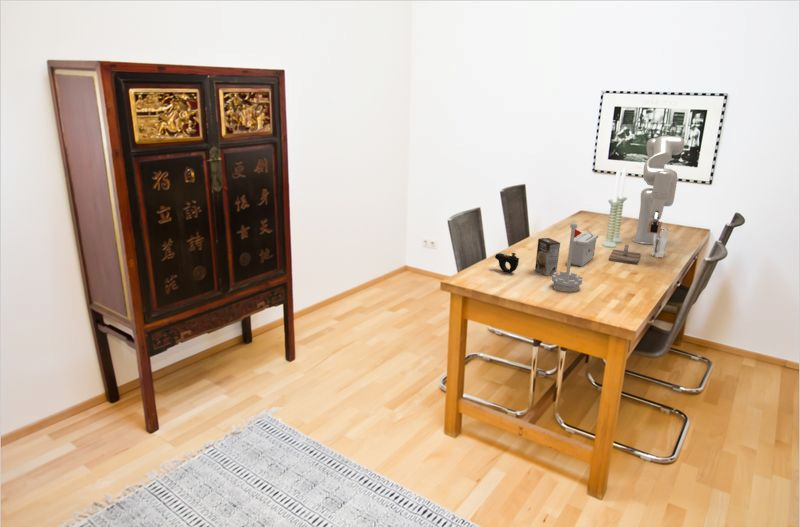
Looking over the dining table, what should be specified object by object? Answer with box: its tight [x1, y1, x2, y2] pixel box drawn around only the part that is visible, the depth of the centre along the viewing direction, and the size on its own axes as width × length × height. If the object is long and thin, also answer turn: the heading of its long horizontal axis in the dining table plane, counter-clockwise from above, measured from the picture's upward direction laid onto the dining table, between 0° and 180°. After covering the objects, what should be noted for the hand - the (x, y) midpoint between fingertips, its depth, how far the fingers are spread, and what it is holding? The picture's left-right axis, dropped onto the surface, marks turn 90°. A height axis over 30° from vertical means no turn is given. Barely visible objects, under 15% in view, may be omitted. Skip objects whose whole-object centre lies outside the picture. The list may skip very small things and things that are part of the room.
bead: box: [647, 221, 663, 234], centre depth 280 cm, size 6×6×5 cm
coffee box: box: [534, 237, 561, 277], centre depth 265 cm, size 9×6×16 cm
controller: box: [494, 252, 520, 274], centre depth 266 cm, size 4×12×10 cm, turn 46°
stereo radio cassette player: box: [571, 227, 599, 267], centre depth 283 cm, size 21×8×20 cm, turn 145°
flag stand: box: [551, 222, 584, 293], centre depth 244 cm, size 13×13×30 cm
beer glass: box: [651, 227, 670, 258], centre depth 296 cm, size 7×7×15 cm
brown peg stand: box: [608, 244, 642, 266], centre depth 292 cm, size 18×14×8 cm
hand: (653, 230), depth 280 cm, fingers closed on bead, 6 cm apart
